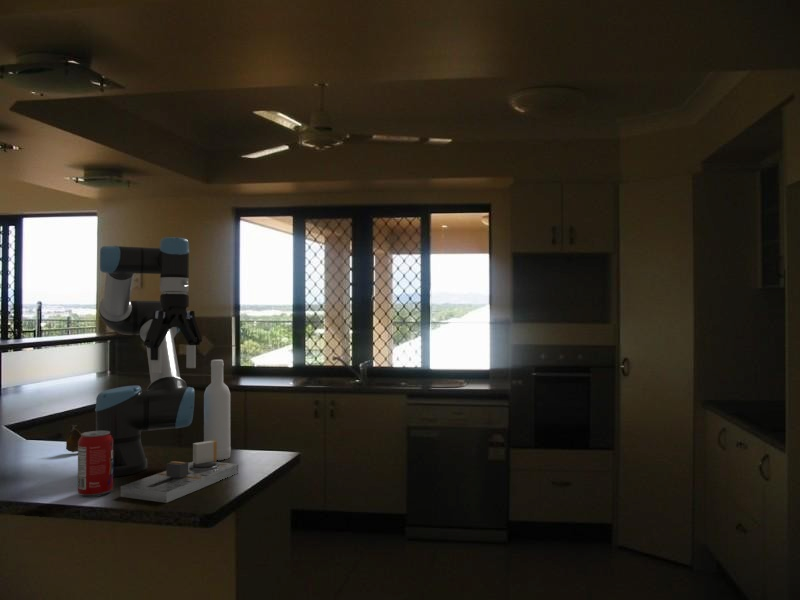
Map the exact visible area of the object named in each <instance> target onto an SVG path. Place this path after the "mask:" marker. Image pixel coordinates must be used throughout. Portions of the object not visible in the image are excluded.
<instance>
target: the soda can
mask: <svg viewBox="0 0 800 600" xmlns="http://www.w3.org/2000/svg"><path fill="white" fill-rule="evenodd" d="M81 433H82V434H81V438H80V439H79V441H78V452H77V493H78V494H79V495H81V496H83V497H87V498H88V497H90V498H93V497H101V496H104V495H106V494H108V493H109V492H111V491H112V490H113V489H114V477H113V437H112V436H111V435H110V431H96V430H93V431H91V430H90V431H85V432H81Z"/></svg>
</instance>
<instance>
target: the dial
mask: <svg viewBox="0 0 800 600" xmlns="http://www.w3.org/2000/svg"><path fill="white" fill-rule="evenodd" d="M192 462H193V467H195V468H209V467H213V466H215V465H216V462H218V461H217V442H216V441H213V440H211V441H205V442H204V441H200V442H194V443H192Z"/></svg>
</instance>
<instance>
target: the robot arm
mask: <svg viewBox="0 0 800 600" xmlns="http://www.w3.org/2000/svg"><path fill="white" fill-rule="evenodd" d="M159 244H160V245H159V247H145V246H144V247H142V246H139V247H138V246H137V247H136V246H120V245H119V246H118V245H108V246H107V245H104V246H101V248H100V249H99V270H100V272H102V273H105V282H104V292H103V298H102V300H101V301H100V303H99V306H98V313H99V316H100V319H101V321H102V322H103V324H104V325H105V326H106V327H107V328H109V329H111V330H112V331H113V332H116V333H118V334H120V335H126V336H140V339H141V340H142V341H143V345H144V346H146V352H147V359H148V360H147V362H148V368H149V369H148V371H149V378H150V383H149V384H148V386H147V389H146V390H145V389H142V387H141V386H140V385H137V384H136V385H135V384H134V385H126V386H120V387H115V388H110V389H106V390H103V391H101V392H99V393H98V395H97V396H96V402H95V409H94V412H95V431H110V435H111V436H112V437H113V478H114V477H122V476H129V475H134V474H137V473H140V472H143V471H145V470H146V469H147V468H148V458H147V456H145V451H144V447H143V444H142V439H141V438H142V437H141V434H142V433H141V432H146V431H147V432H148V431H157V430H168V429H176V430H177V429H181V428H187V427H189V426H190V425H191V424H192V422H193V418H194V410H195V396H196V395H195V392H196V391H195V388H194V387H191V386H188V385H187V383H186V381H185V380H184V379H182V378H181V375H180V367H179V363H178V357H177V351H176V344H175V337H176V335H177V334H178V333H180V332H181V334H182V335H183V336H184V338H185V340H186V342H187V344H186V347H185V348H186V349H185V353H186V357H185V358H186V359H185V360H186V361H185V362H186V363H185V364H186V365H185V367H186V369H196V367H197V366H196V365H197V362H196V361H197V355H198V353H197V351H198V350H197V349H198V348H197V347H198V346H200V345H201V343H202V342H203V338H202V336H201V333H200V329H199V326H198V323H197V320H196V313H195V311H194V310H187V308H189V306H190V296H189V294H187V293H188V292H189V291H190V290H189V289H190V288H189V287H190V285H189V284H190V282H189V281H190V279H189V278H190V273H189V272H190V245H189V244H190V243H189V240H188V239H187V238H183V237H176V236H175V237H172V236H171V237H163V238H161V240H160V243H159ZM136 274H144V275H145V274H147V275H148V274H149V275H151V274H152V275H160V276H159V279H160V281H159V291H160V292H161V294H160V296H159V300H131V296H132V289H133V284H134V279H135V275H136Z"/></svg>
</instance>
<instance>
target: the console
mask: <svg viewBox="0 0 800 600" xmlns="http://www.w3.org/2000/svg"><path fill="white" fill-rule="evenodd" d="M237 473H238V474H239V464H238V463H230V462H229V463H228V462H220V461H216V465H215V466H213V467H209V468H195V467H193V461H190V462H188V475H187V476H184V477H181V478H177V479H174V480H172V477H168V476H166V470H164V471H162V472H161V471H160V472H157V473H156V474H153V475H152V474H151V475H149V476H147V477H144V478H141V479H138V480H135V481H133V482H132V481H131V482H129V483H126V484H123V485H120V498H129V499H135V500H143V501H149V502H150V501H151V502H156V503H157V502H158V503H163V504H164V503H165V504H168V503H169V502H172V501H174V500H177V499H179V498H182V497H184V496H186V495H189V494H191V493H195V492H196V491H200V490H201V489H203V488H206V487H208V486H211V485H213V484H216V483H218V482H220V480H221V481H222V479H223V480H225V478H226V479H228V478H230V477H233V476H235V475H238V474H237ZM234 474H235V475H234ZM232 475H233V476H232ZM227 477H228V478H227Z"/></svg>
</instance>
